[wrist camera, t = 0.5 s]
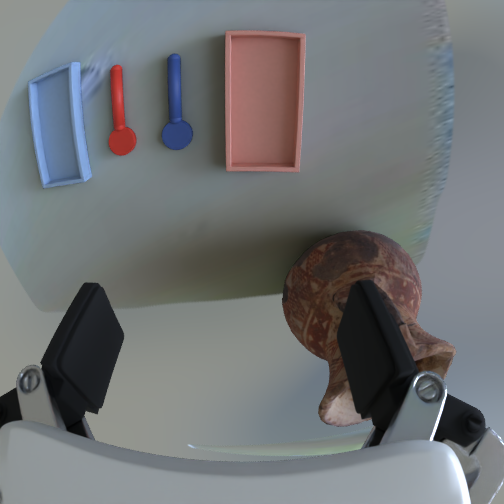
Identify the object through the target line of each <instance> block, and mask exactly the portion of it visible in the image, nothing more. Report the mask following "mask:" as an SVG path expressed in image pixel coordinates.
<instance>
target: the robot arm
mask: <svg viewBox="0 0 504 504" xmlns="http://www.w3.org/2000/svg"><path fill="white" fill-rule="evenodd" d="M123 340H124V333H123V330H122V328H121V326H120V324H119V322H118V320H117V318H116V316H115V314H114V311H113V309H112V307H111V305H110V302H109V300H108V298H107V295H106V293H105V291H104V289H103V287H101V286H100V285H99V284H98V283H87V282H86V283H84V284H83V285H82V287H81V288H80V290H79V292H78V293H77V295H76V297H75V298H74V300H73V302H72V303H71V305H70V307H69V308H68V310H67V312H66V314H65V316H64V317H63V319H62V321H61V323H60V325H59V326H58V328H57V330H56V332H55V334H54V336H53V338H52V340H51V342H50V344H49V346H48V348H47V350H46V352H45V354H44V356H43V358H42V360H41V362H40V363H41V364H42V368H41V369H40V367H39V366H36V365H29V366H26V367H25V368H24V369H23V370H22V371H21V372H20V373H19V375H18V377H17V381H16V388H14V389H13V390H11V391H9V392H8V393H6V394H4V395H3V396H1V397H0V504H490V502H491V501H492V499H493V498H494V496H495V495H496V493H497V491H498V490H499V488H500V487H501V485H502V483H503V482H504V442H503V441H502V440H501V439H500V438H499V436H498V435H497V434H496V433H494V431H493V430H492V429H491V428H490V427H488V428H487V429H486V428H485V418H484V416H483V414H482V413H481V411H480V410H478V409H477V408H475V407H473V406H471V405H469V404H467V403H465V402H463V401H461V400H459V399H457V398H455V397H453V396H451V395H449V394H447V388H446V384H445V382H444V380H443V379H442V378H441V376H440V375H438V374H437V373H435V372H432V371H422V372H419V371H418V368H417V366H416V364H415V361H414V359H413V357H412V354H411V352H410V350H409V348H408V345H407V343H406V341H405V339H404V337H403V335H402V333H401V330H400V328H399V326H398V324H397V322H396V320H395V318H394V316H393V315H392V314H391V313H389V311H388V309H387V307H386V305H385V303H384V301H383V299H382V297H381V295H380V293H379V291H378V289H377V287H376V286H375V284H374V282H373V281H372V280H358V281H356V283H355V285H352V286H351V288H350V291H349V295H348V298H347V302H346V305H345V308H344V312H343V315H342V318H341V321H340V324H339V327H338V330H337V342H338V346H339V349H340V353H341V356H342V360H343V363H344V367H345V371H346V375H347V379H348V382H349V386H350V390H351V394H352V398H353V402H354V406H355V410H356V412H357V414H361V419H362V420H363V419H367V418H372V422H373V425H374V426H373V428H372V430H371V432H370V434H369V435H368V437H367V439H366V441H365V443H364V444H363V446H362V448H361V449H359V450H354V451H349V452H344V453H338V454H332V455H325V456H318V457H311V458H303V459H294V460H281V461H262V462H261V461H260V462H227V461H206V460H194V459H184V458H176V457H169V456H162V455H156V454H150V453H145V452H139V451H134V450H130V449H125V448H121V447H117V446H113V445H109V444H106V443H102V442H99V441H96V440H95V438H94V436H93V434H92V432H91V430H90V428H89V425H88V423H87V421H86V418H85V416H84V415H85V412H86V411H88V412H91V413H95V414H98V411H99V408H101V407H102V406H103V403H104V399H105V396H106V392H107V389H108V386H109V383H110V379H111V376H112V373H113V370H114V367H115V364H116V361H117V358H118V355H119V352H120V349H121V346H122V343H123Z"/></svg>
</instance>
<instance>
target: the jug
mask: <svg viewBox="0 0 504 504" xmlns="http://www.w3.org/2000/svg"><path fill="white" fill-rule="evenodd" d="M358 280H372V281H373V282H374V284H375V286H376V287H377V289H378V291H379V293H380V295H381V297H382V299H383V301H384V303H385V305H386V307H387V309H388V311H389V313H391V314H392V315H393V316H394V318H395V320H396V322H397V324H398V326H399V328H400V330H401V333H402V335H403V337H404V339H405V341H406V343H407V345H408V348H409V350H410V352H411V354H412V357H413V359H414V361H415V364H416V366H417V368H418V371H419V372H422V371H432V372H435V373H437V374H438V375H440V376H441V378H442V379H443V380H444V379H445V377H446V375H447V371H448V369H449V367H450V365H451V364H452V360H453V357H454V356H455V354H456V349H455V347H454V346H453V345H452V344H450V343H448V342H446V341H443V340H440V339H438V338H436V337H433V336H432V335H430V334H428V333H427V332H425V331H424V330H423V329H422V328H421V327H420V325H419V324H418V322H417V321H416V318H417V314H418V310H419V307H420V302H421V296H422V289H421V280H420V277H419V274H418V271H417V269H416V266H415V264H414V263H413V261H412V259H411V258H410V256H409V254H408V253H407V252H406V251H405V250H404V249H403V248H402V247H401V246H400V245H399V244H398V243H396V242H395V241H393V240H392V239H390V238H388V237H386V236H384V235H382V234H379V233H375V232H371V231H364V230H358V231H347V232H341V233H337V234H335V235H332V236H330V237H327V238H325V239H322V240H320V241H319V242H317V243H316V244H314V245H313V246H311V247H310V248H309V249H308V250H307V251H305V252H304V253H303V255H302V256H301V257H300V258H299V259H298V260H297V261H296V263H295V264H294V265H293V267H292V268H291V270H290V271H289V273H288V275H287V277H286V280H285V284H284V290H283V298H282V305H283V310H284V314H285V318H286V321H287V323H288V325H289V327H290V329H291V331H292V333H293V334H294V335H295V337H296V338H297V339H298V340H299V342H300V343H301V344H302V345H303V346H304V347H305V348H306V349H308V350H309V351H310V352H311V353H313V354H314V355H316V356H317V357H319V358H321V359H324V360H326V361H328V363H329V370H330V377H329V385H328V387H327V390H326V393H325V395H324V397H323V399H322V401H321V403H320V405H319V411H318V414H319V416H320V418H321V420H322V421H323V422H324V423H326V424H329V425H334V426H337V427H339V426H340V427H341V426H350V425H354V424H358V423H361V422H363V421H368V420H371V419H372V418H367V419H363V420H362V419H361V414H357V412H356V410H355V406H354V402H353V398H352V394H351V390H350V386H349V382H348V379H347V375H346V371H345V367H344V363H343V360H342V356H341V353H340V349H339V346H338V342H337V330H338V327H339V324H340V321H341V318H342V315H343V312H344V308H345V305H346V302H347V298H348V295H349V291H350V288H351V286H352V285H355V283H356V281H358Z"/></svg>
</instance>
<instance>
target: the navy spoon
mask: <svg viewBox="0 0 504 504" xmlns="http://www.w3.org/2000/svg"><path fill="white" fill-rule="evenodd" d="M168 101H169V120H170V122H169V123H168V124H167V125H166V126H165V127H164V129H163V131H162V140H163V142H164V144H165V145H166V146H167V147H168V148H170V149H173V150H180V149H183V148H185V147H186V146H187V145H188V144H189V143H190V142H191V140H192V137H193V131H192V128H191V126H190V125H189V124H188V123H187V122H185V121H183V120H182V108H181V69H180V56H179V55H178V54H171V55H170V56H169V57H168Z"/></svg>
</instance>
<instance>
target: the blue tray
mask: <svg viewBox="0 0 504 504" xmlns="http://www.w3.org/2000/svg"><path fill="white" fill-rule="evenodd" d="M28 96H29V109H30V120H31V128H32V135H33V142H34V148H35V154H36V159H37V164H38V169H39V174H40V178H41V183H42V187H43V189H44V188H50V187H56V186H62V185H68V184H74V183H81V182H85V181H87V180H88V179H89V178H91V177H92V175H91V169H90V164H89V158H88V152H87V145H86V138H85V130H84V121H83V111H82V98H81V79H80V62H71V63H68V64H66V65H63V66H61V67H58V68H56V69H54V70H51V71H49V72H47V73H45V74H42V75H40V76H38V77H36V78H34V79H32V80H30V81H28Z"/></svg>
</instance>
